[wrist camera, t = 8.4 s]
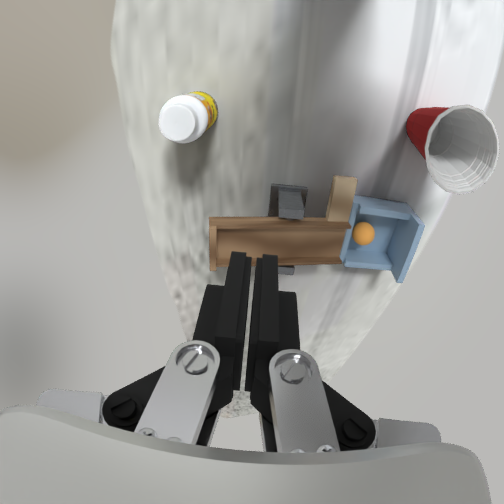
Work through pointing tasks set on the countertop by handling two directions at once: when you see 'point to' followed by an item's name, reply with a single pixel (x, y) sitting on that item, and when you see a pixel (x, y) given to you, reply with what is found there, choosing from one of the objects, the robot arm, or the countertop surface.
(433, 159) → the plastic cup
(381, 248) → the blue tray
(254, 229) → the lever
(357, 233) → the ball
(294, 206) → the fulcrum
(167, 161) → the countertop surface
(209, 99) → the supplement bottle
